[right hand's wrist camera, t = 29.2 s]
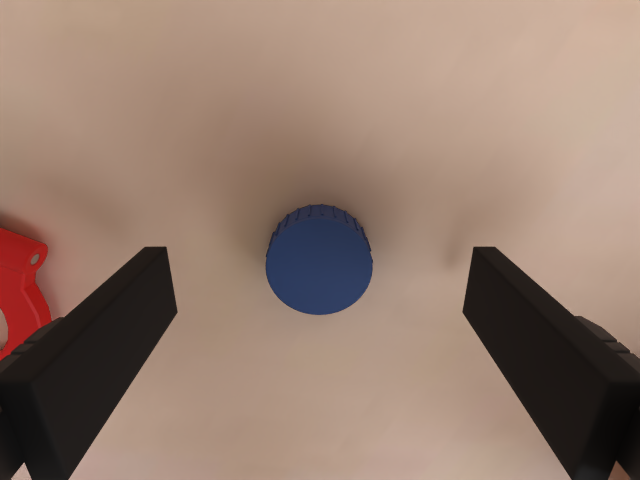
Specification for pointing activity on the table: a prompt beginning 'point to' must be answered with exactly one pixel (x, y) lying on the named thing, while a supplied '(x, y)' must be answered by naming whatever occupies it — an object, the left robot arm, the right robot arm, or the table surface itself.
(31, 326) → the tow hook
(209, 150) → the table surface
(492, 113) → the table surface
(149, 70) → the table surface
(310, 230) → the cap
